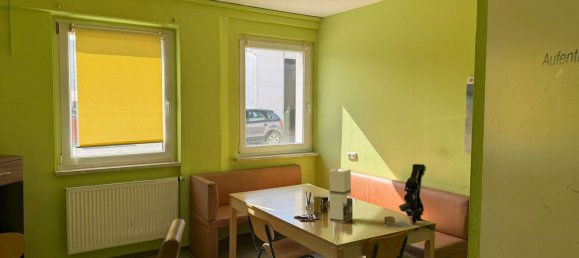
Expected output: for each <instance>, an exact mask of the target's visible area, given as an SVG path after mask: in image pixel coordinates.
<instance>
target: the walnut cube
mask: <svg viewBox="0 0 579 258" xmlns="http://www.w3.org/2000/svg"><path fill="white" fill-rule="evenodd" d="M383 221H384V222H383V223H384V224H385V225H386V226H395V222H396V218H395V217H394V216H392V215H391V216H390V215H389V216H384V220H383Z"/></svg>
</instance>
